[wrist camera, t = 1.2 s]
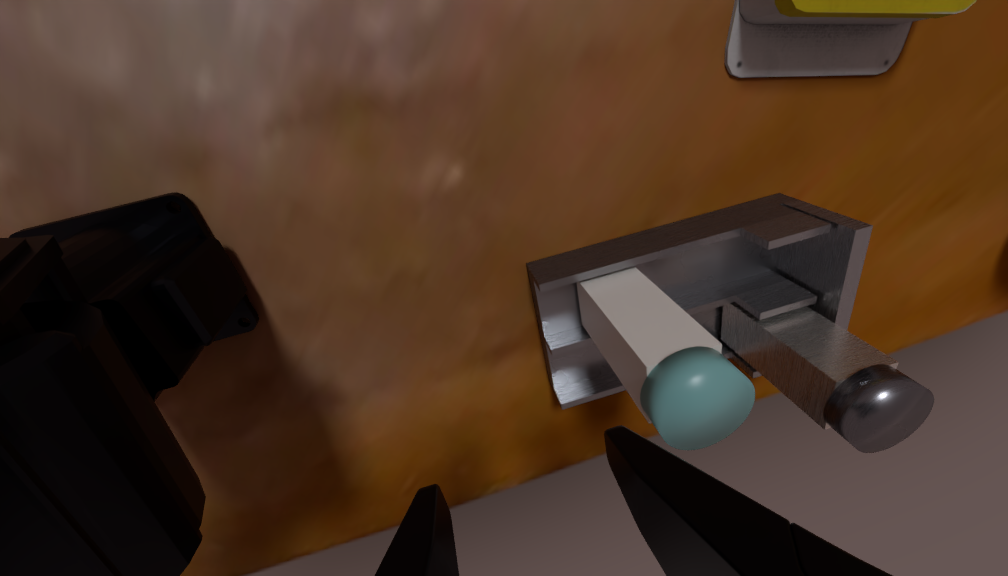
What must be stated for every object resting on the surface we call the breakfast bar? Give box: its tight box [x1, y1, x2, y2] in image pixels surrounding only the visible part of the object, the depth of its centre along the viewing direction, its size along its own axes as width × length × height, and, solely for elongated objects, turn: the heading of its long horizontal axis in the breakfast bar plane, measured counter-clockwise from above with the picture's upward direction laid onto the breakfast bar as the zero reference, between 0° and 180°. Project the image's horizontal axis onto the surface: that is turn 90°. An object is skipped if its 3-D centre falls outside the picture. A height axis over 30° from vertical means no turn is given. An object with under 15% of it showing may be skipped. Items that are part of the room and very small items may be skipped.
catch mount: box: [526, 193, 934, 453], centre depth 20 cm, size 14×8×10 cm, turn 101°
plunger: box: [576, 266, 755, 450], centre depth 18 cm, size 3×3×8 cm
